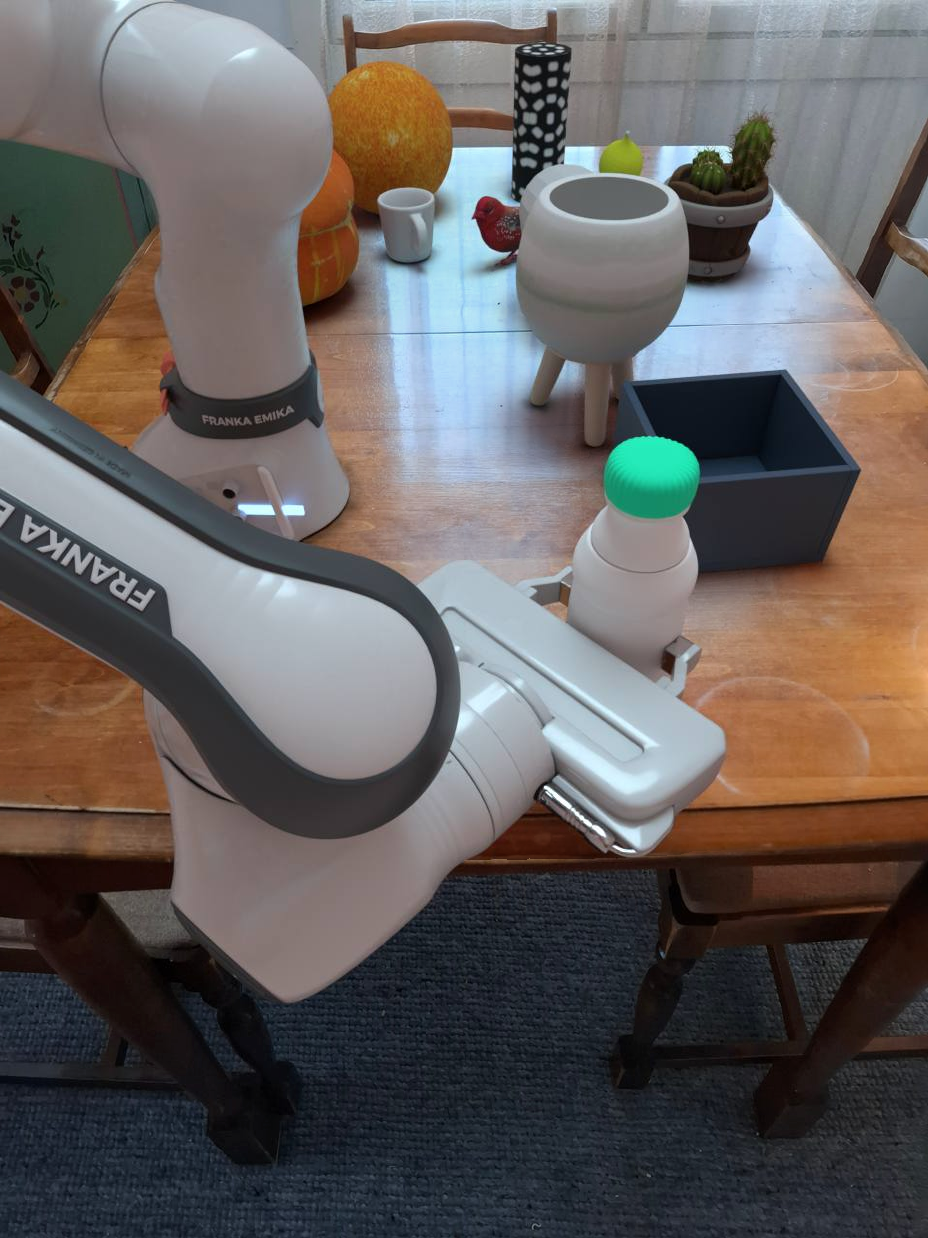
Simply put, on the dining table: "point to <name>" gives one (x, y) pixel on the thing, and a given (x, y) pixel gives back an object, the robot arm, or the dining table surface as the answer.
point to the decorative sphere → (390, 131)
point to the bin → (748, 464)
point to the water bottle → (638, 555)
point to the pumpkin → (328, 236)
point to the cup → (407, 223)
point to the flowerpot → (725, 200)
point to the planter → (600, 280)
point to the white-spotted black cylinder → (539, 110)
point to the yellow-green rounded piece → (621, 158)
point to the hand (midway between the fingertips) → (632, 612)
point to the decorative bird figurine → (499, 226)
